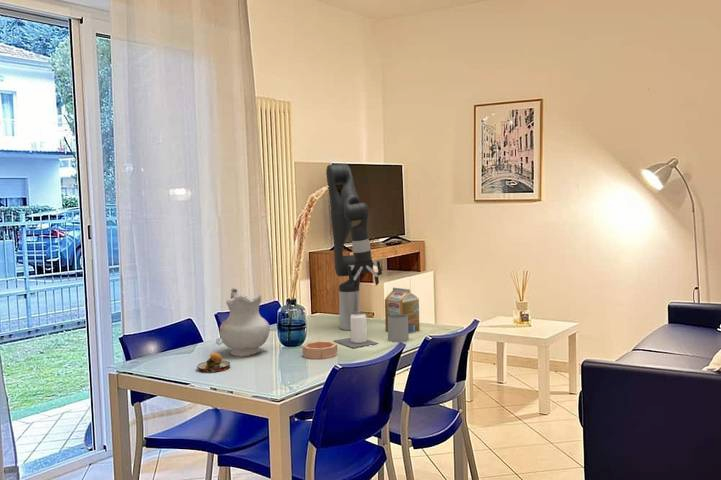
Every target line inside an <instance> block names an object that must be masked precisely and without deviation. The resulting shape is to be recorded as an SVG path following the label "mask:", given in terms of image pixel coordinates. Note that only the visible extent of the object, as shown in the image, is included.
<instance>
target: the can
mask: <svg viewBox="0 0 721 480" xmlns="http://www.w3.org/2000/svg"><path fill="white" fill-rule="evenodd" d="M367 327H368V326H367V315H366V312H365V311H360V312H352V313H351V330H350V338H351V342H352V343H365V342H366V341H367V339H368V336H367V335H368V334H367V333H368V331H367V329H368V328H367Z"/></svg>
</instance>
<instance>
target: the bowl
mask: <svg viewBox="0 0 721 480" xmlns="http://www.w3.org/2000/svg"><path fill="white" fill-rule="evenodd" d="M338 352H339V350H338V343H336V342H334V341H325V340H323V341H320V340H319V341H312V342H306V343H305V344H304V345H302V355H303V356H302V357H303V358H305V359H309V360H310V359H311V360H326V359H333V358H335V357H336V356H338Z"/></svg>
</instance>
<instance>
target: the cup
mask: <svg viewBox="0 0 721 480" xmlns="http://www.w3.org/2000/svg"><path fill="white" fill-rule="evenodd" d="M387 337H388V338H387V341H389V342H391V341H392V343H405V342H408V341H409V334H408V315H405V314H393V315H389V316H388V332H387Z"/></svg>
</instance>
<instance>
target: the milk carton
mask: <svg viewBox="0 0 721 480" xmlns="http://www.w3.org/2000/svg"><path fill="white" fill-rule="evenodd" d="M384 314H385V315H384V317H385V318H384V320H385V322H384V324H385V333H388V316H389V315H393V314H405V315H408V335H409V334H413V333H417V332H420V298H418V297H417V296H416V295H415V294H414V293H412V291H411V289H409V288H401V287H393V288H392V291H391V292H390V293H388V295H387V296H386V297H385V298H384Z"/></svg>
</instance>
